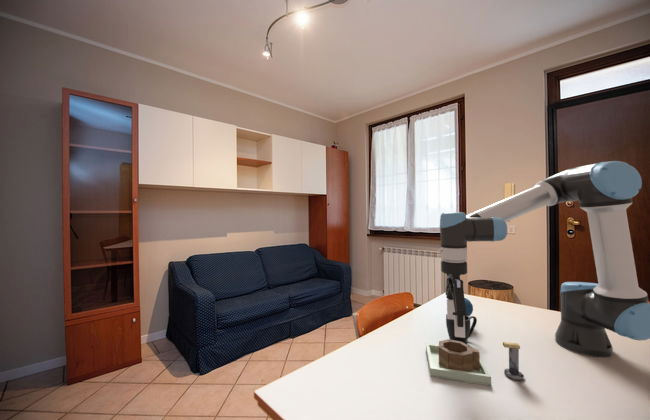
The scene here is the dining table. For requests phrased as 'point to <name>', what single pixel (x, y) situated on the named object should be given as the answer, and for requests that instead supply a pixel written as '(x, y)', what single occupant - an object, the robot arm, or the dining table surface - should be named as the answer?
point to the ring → (458, 356)
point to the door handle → (513, 362)
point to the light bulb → (468, 307)
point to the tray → (441, 372)
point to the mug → (467, 328)
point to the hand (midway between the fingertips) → (455, 327)
